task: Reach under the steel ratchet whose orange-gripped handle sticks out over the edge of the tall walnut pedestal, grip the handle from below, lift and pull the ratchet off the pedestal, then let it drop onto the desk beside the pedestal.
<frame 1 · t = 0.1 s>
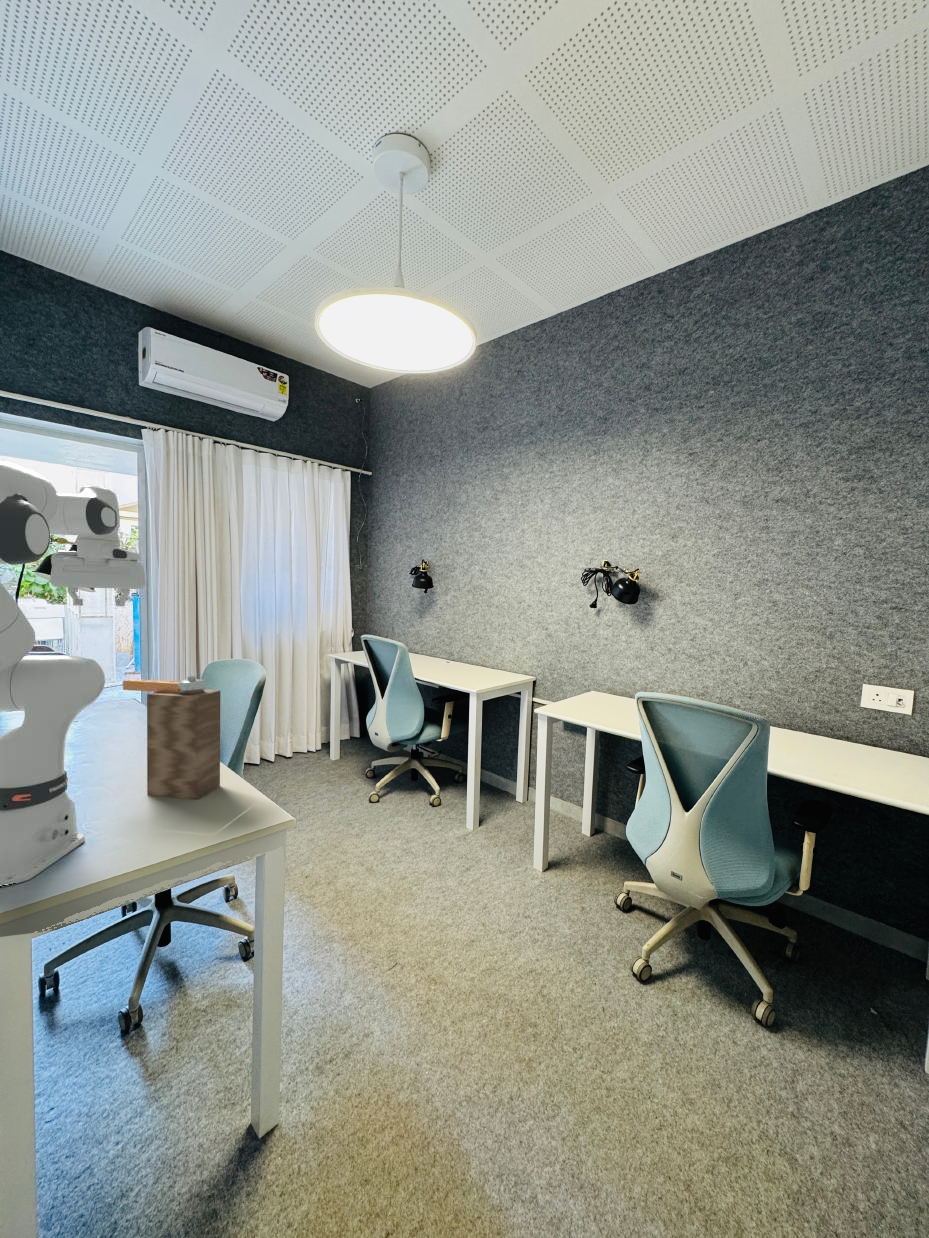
hand: (99, 606, 127), 48 cm above the table, tool pointing down, fingers open, 8 cm apart
pedestal: (160, 788, 131), on the table
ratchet: (191, 692, 128), point 26 cm above the table, touching pedestal
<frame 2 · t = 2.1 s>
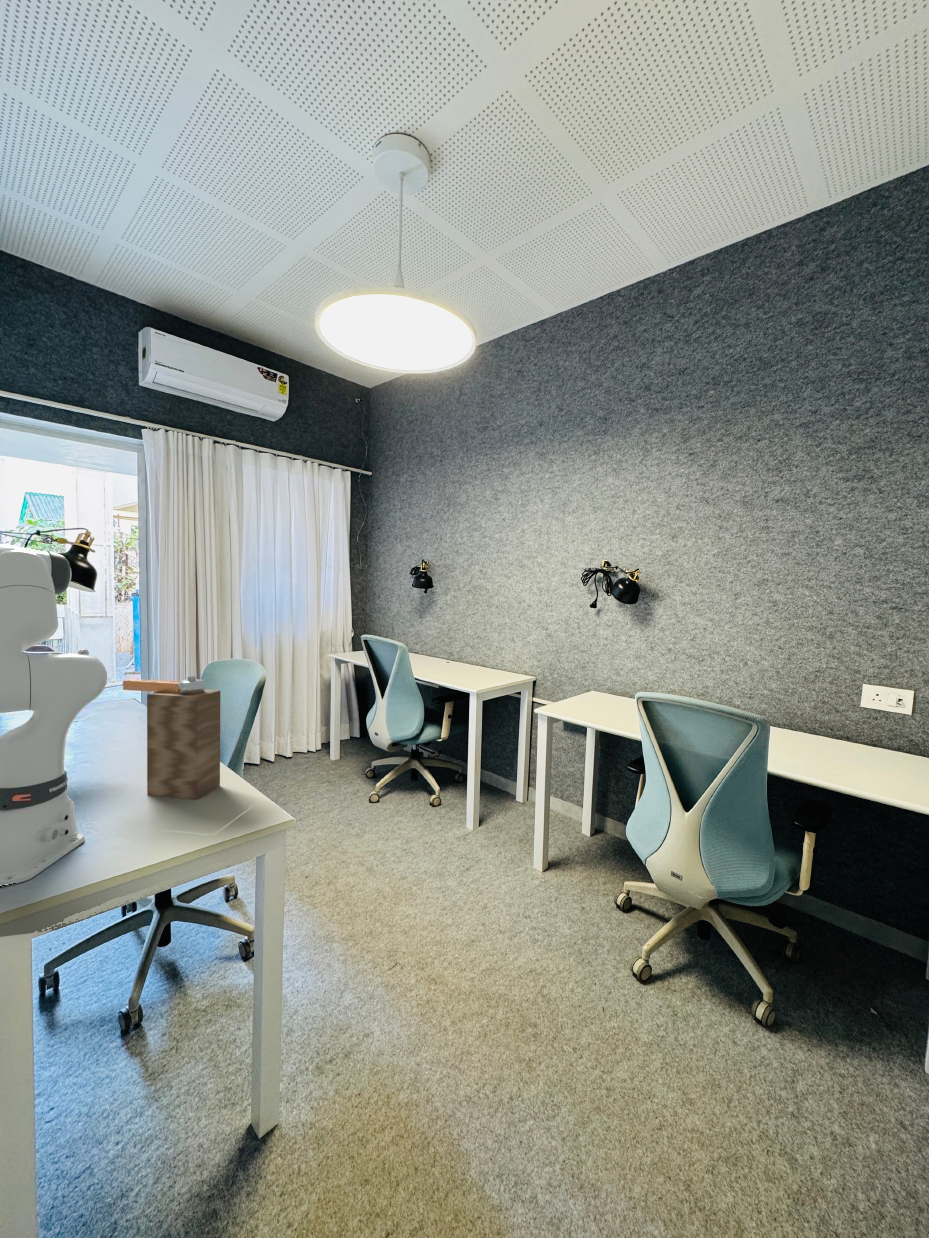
hand: (70, 653, 132), 35 cm above the table, tool pointing upward, fingers open, 8 cm apart
nothing on the table moved.
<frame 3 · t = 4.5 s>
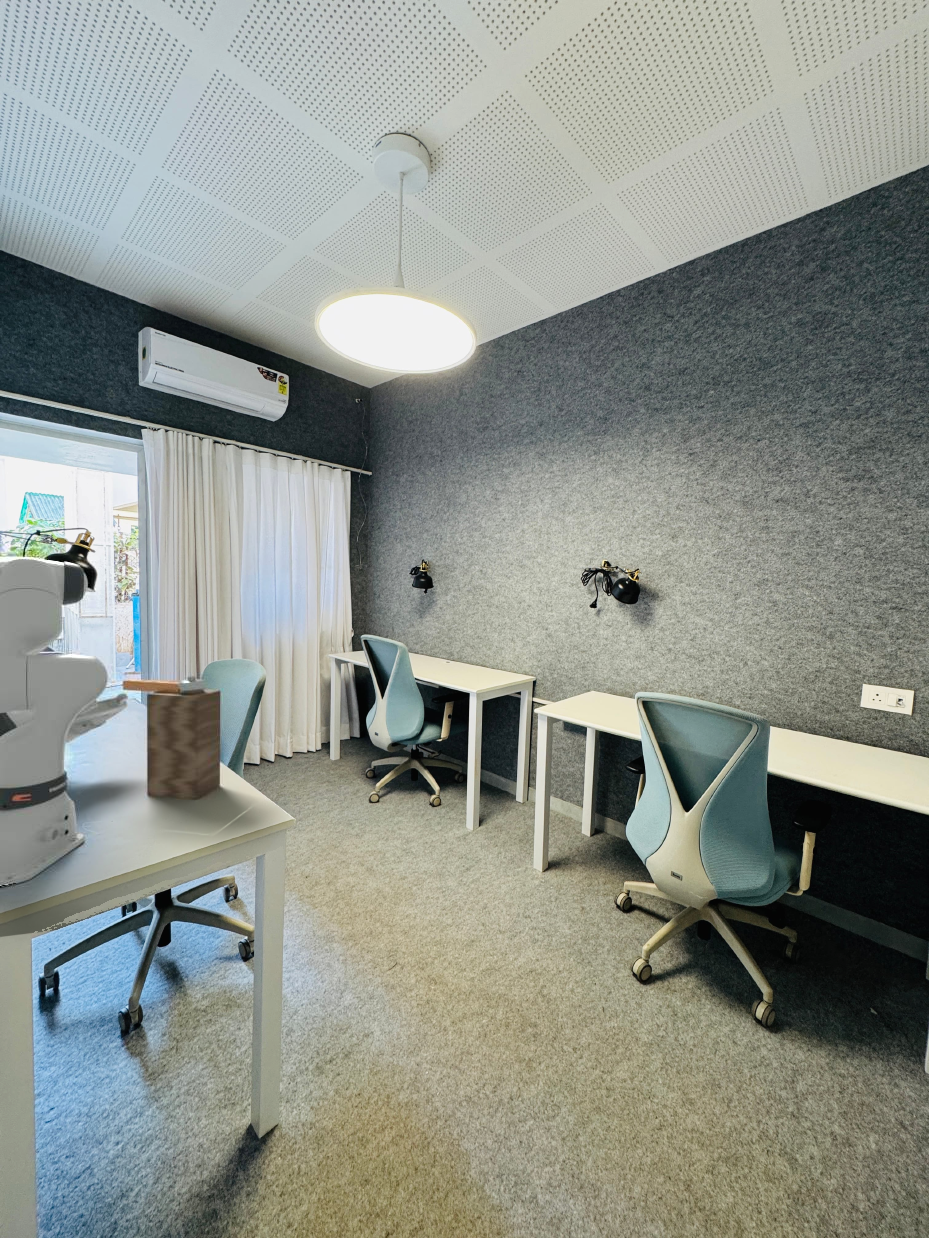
hand: (110, 699, 131), 23 cm above the table, tool pointing upward, fingers open, 8 cm apart
nothing on the table moved.
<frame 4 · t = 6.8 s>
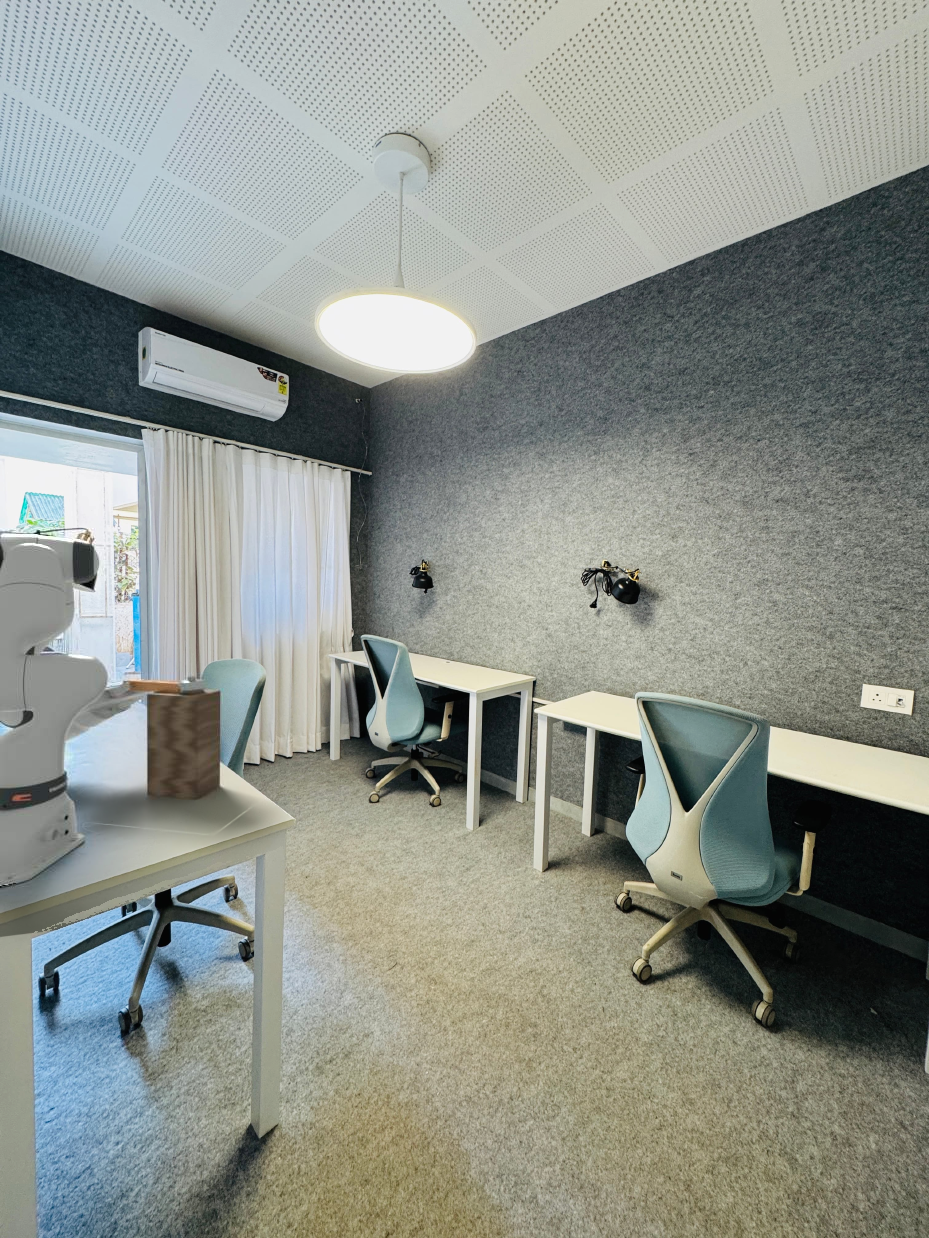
hand: (136, 683, 130), 28 cm above the table, tool pointing upward, fingers closed on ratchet, 3 cm apart
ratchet: (191, 692, 128), point 26 cm above the table, touching gripper, pedestal
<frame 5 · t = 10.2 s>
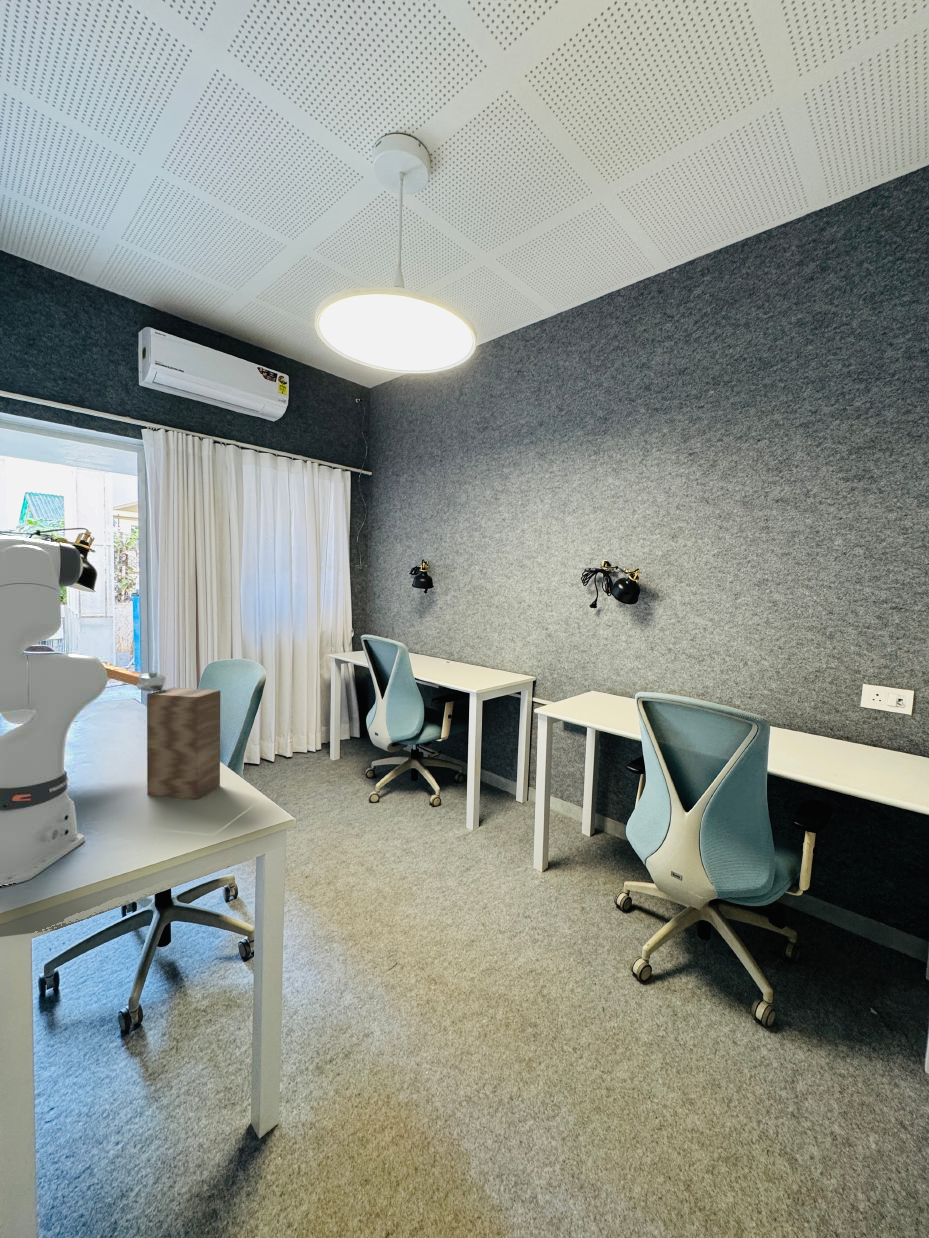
hand: (98, 665, 131), 32 cm above the table, tool pointing upward, fingers closed on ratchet, 3 cm apart
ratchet: (150, 687, 130), point 27 cm above the table, tilted 12°, touching gripper
when the fingers open (18 cm above the table, at t = 13.5 s): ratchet drops 11 cm, on the table.
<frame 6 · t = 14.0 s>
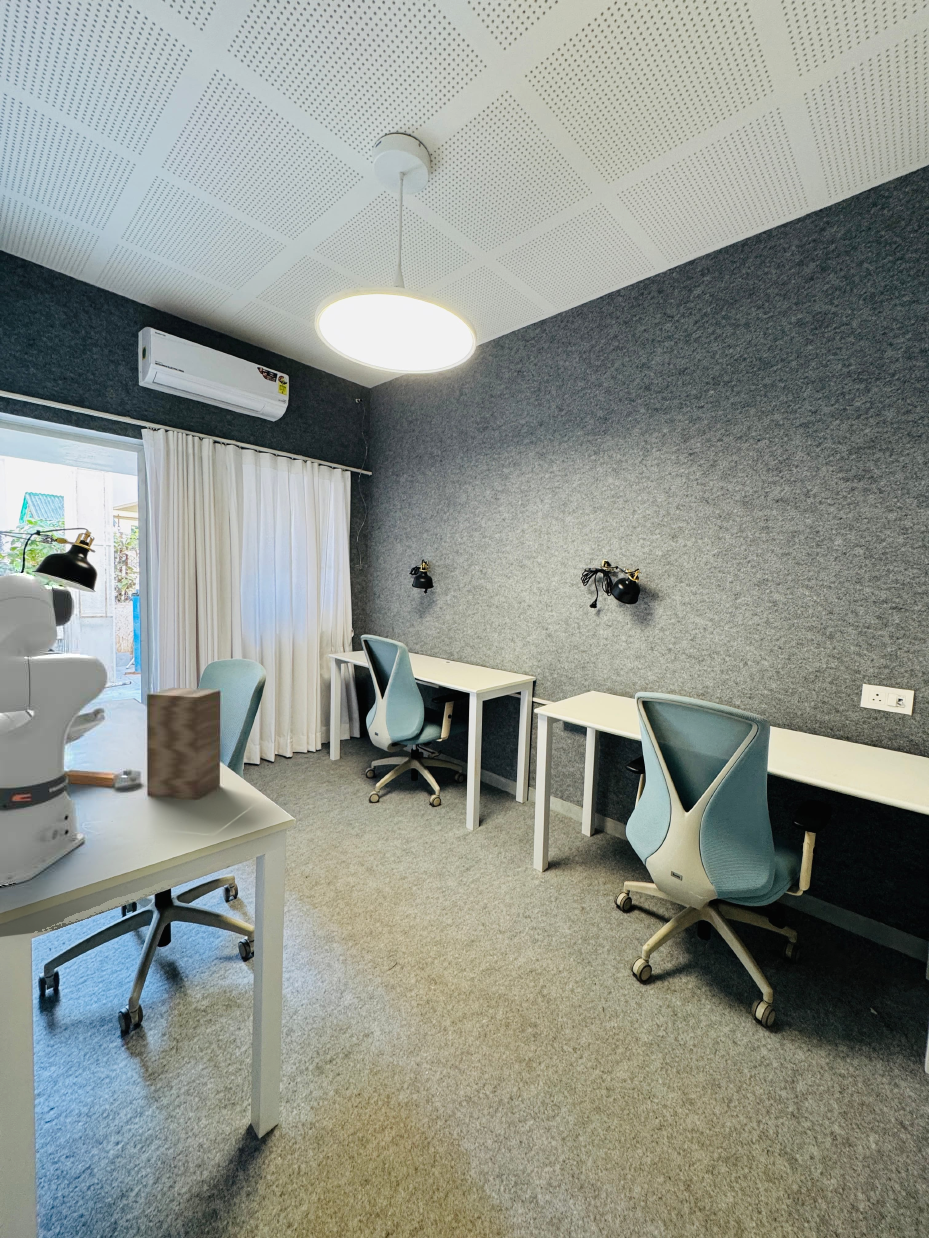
hand: (86, 714, 132), 18 cm above the table, tool pointing upward, fingers open, 8 cm apart
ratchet: (127, 785, 132), on the table
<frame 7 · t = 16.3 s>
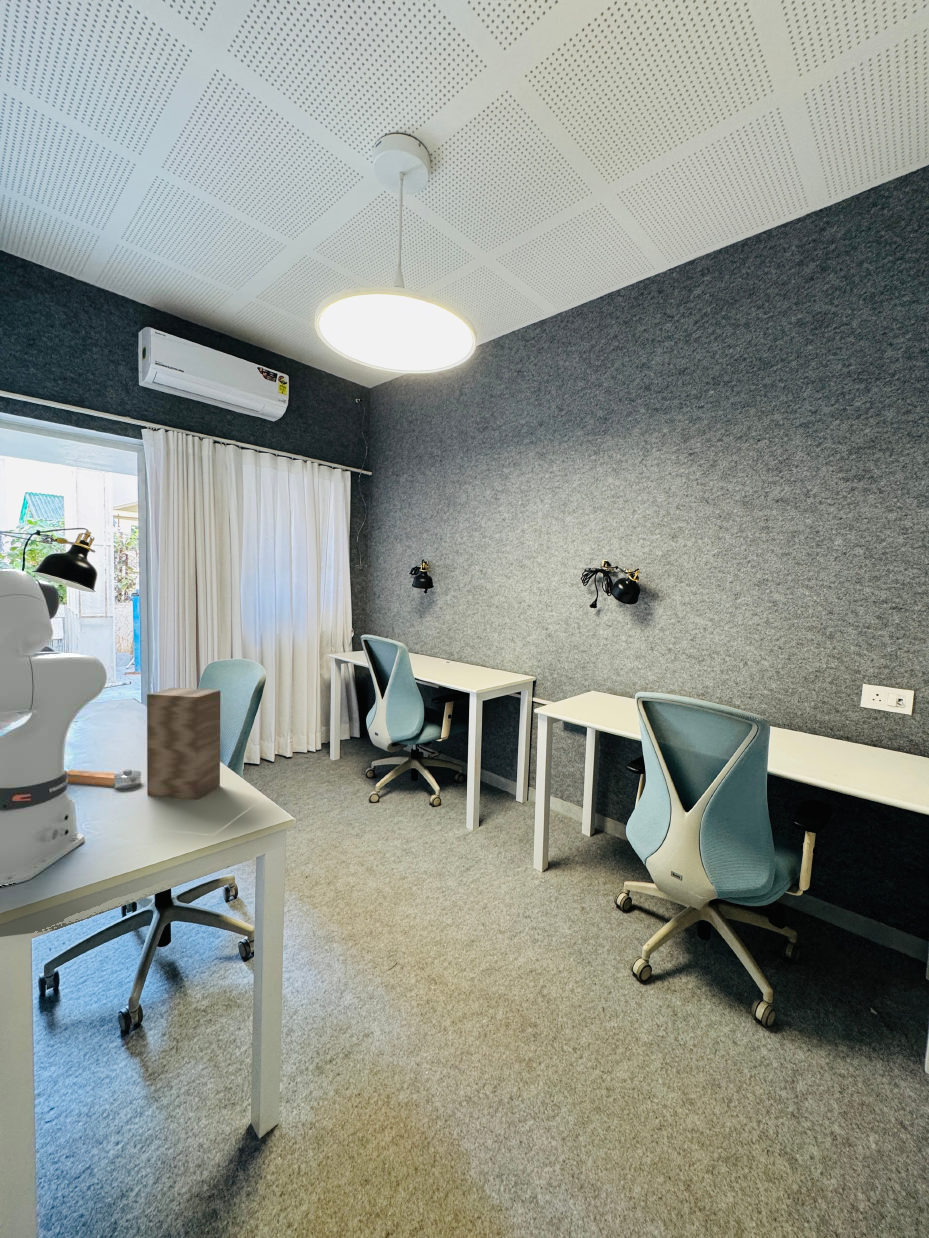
hand: (53, 678, 133), 28 cm above the table, tool pointing upward, fingers open, 8 cm apart
nothing on the table moved.
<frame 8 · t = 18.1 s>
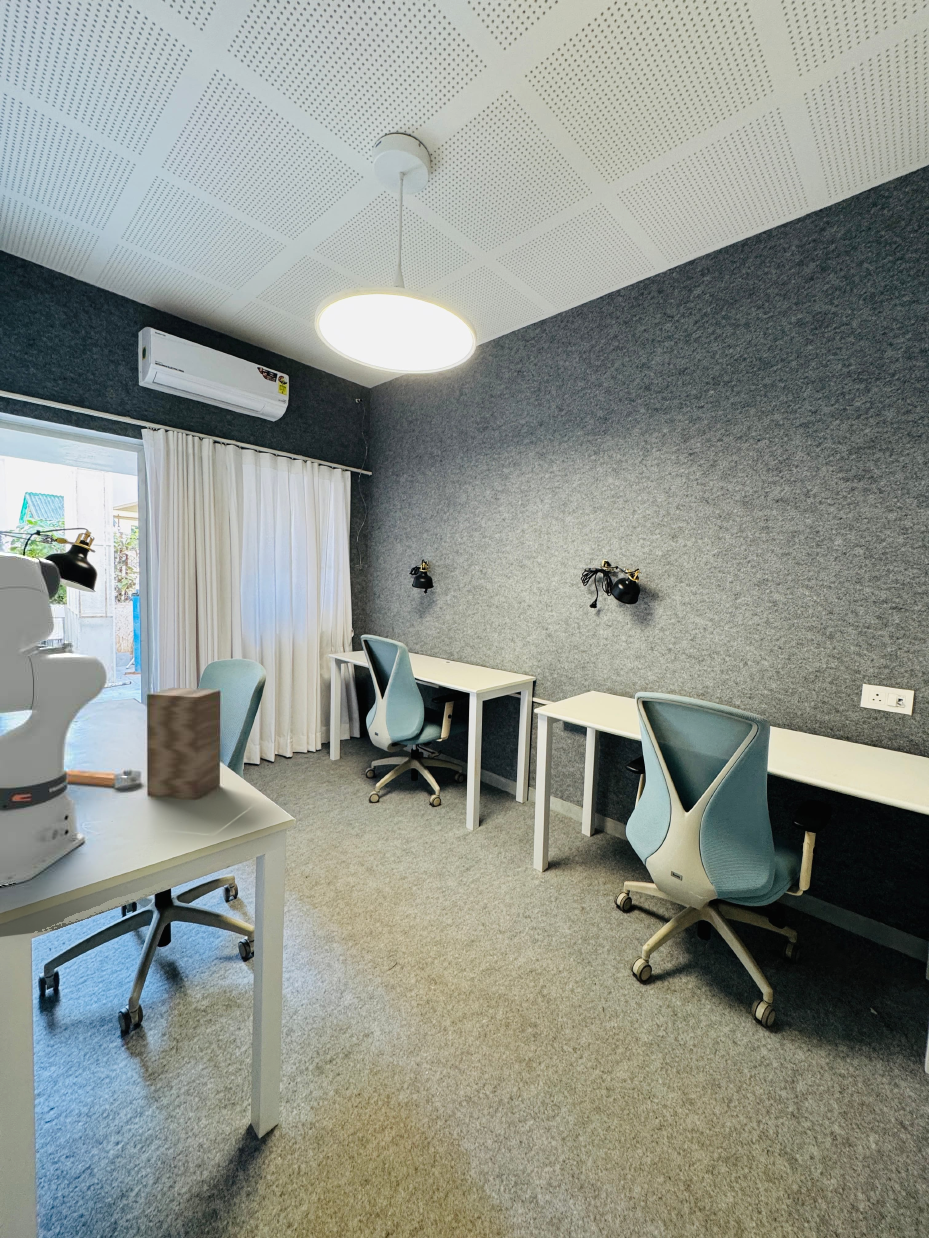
hand: (53, 645, 133), 36 cm above the table, tool pointing upward, fingers open, 8 cm apart
nothing on the table moved.
at the end: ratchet moved 32.0 cm from its start; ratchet on the table; the gripper is holding nothing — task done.
